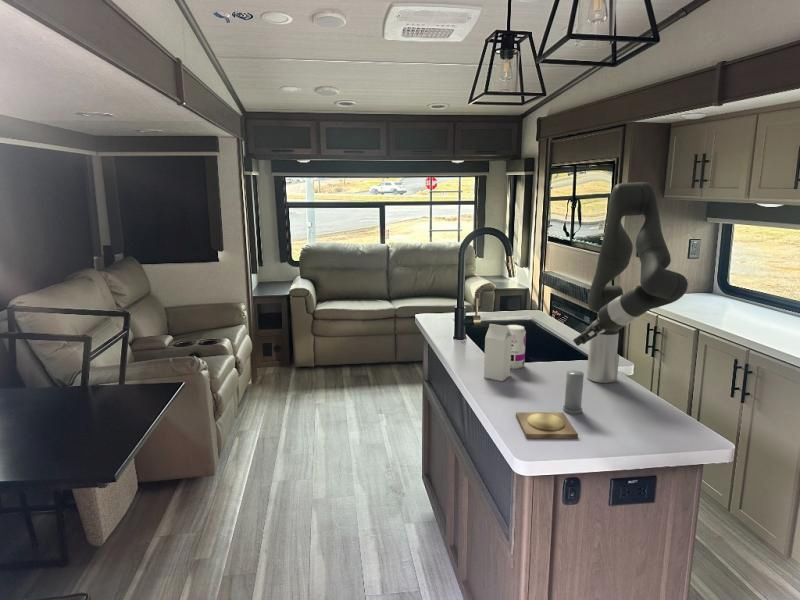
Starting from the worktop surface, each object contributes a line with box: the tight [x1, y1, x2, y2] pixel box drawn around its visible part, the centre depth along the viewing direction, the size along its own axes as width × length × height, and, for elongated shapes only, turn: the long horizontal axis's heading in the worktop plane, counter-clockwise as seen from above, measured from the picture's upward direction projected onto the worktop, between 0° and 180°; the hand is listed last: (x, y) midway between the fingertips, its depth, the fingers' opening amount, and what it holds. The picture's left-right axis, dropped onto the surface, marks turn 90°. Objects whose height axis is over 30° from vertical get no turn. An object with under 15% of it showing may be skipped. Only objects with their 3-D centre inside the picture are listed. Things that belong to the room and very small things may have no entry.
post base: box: [515, 411, 579, 439], centre depth 154 cm, size 14×14×2 cm
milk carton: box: [483, 323, 512, 382], centre depth 191 cm, size 7×7×19 cm
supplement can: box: [506, 324, 527, 370], centre depth 203 cm, size 8×8×15 cm
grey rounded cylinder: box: [562, 369, 585, 415], centre depth 163 cm, size 5×5×12 cm
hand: (583, 335), depth 161 cm, fingers open, 8 cm apart
